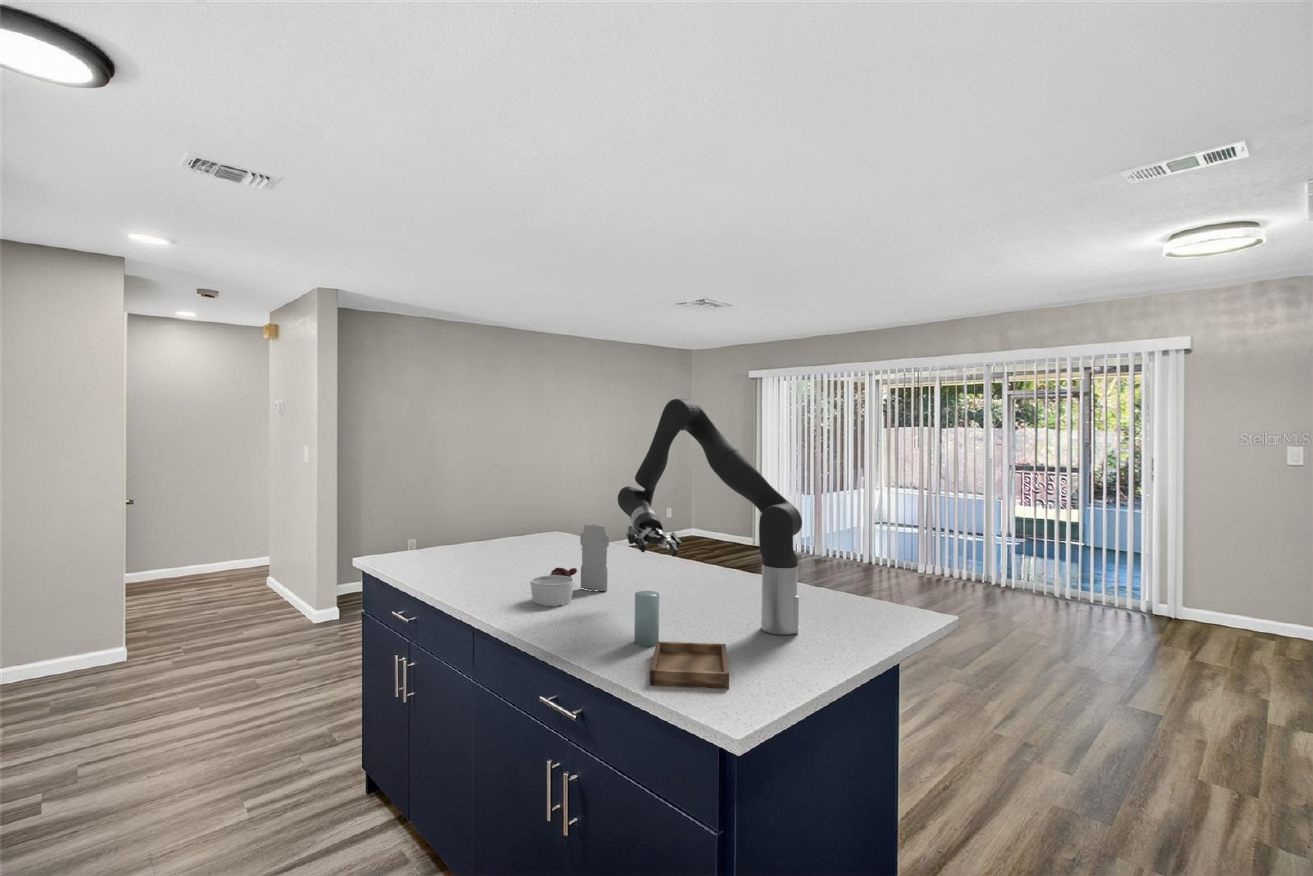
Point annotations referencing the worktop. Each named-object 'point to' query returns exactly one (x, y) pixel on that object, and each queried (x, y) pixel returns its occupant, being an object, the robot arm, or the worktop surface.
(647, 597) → the pale blue cylinder
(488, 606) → the worktop surface
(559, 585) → the ramekin
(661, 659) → the tray
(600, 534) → the tall pale column
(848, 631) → the worktop surface
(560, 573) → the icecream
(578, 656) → the worktop surface
